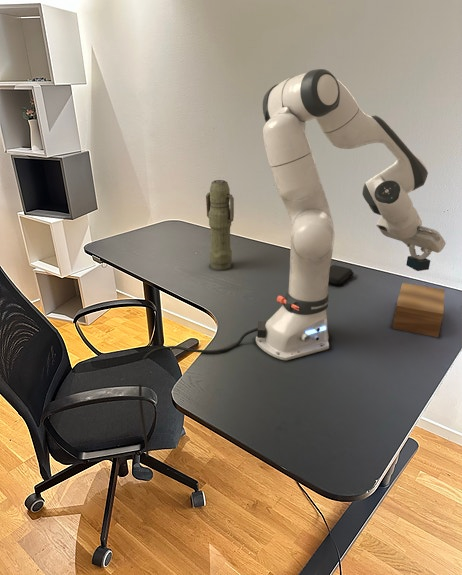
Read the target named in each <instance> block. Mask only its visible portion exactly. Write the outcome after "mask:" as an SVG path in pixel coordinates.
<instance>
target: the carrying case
mask: <svg viewBox="0 0 462 575" xmlns="http://www.w3.org/2000/svg"><path fill="white" fill-rule="evenodd" d="M354 274H355V273H354V271H353V270H352V268H350V267H345V266H341V265H338V264H332V265H330V272H329V282H328V285H332V286H335V287H338V286H340V285H343V283H345V282H346V281H348V279H350V278H353V277H354Z"/></svg>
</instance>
